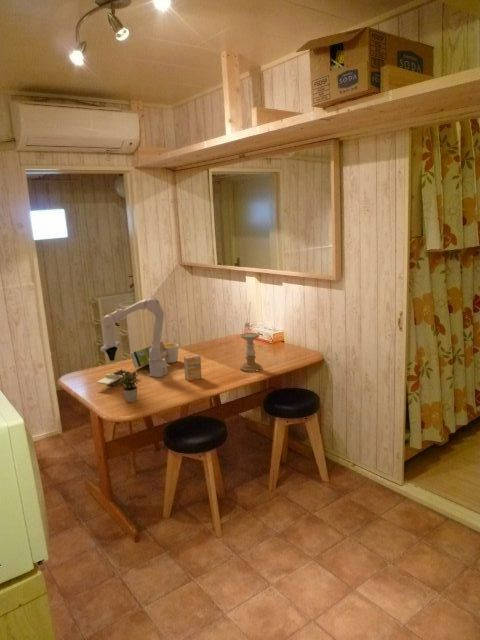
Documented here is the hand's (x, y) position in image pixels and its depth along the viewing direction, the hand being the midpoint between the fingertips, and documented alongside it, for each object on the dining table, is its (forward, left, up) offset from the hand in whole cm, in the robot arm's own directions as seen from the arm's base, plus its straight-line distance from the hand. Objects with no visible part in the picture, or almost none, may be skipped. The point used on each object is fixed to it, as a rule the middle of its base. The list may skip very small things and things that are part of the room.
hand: (112, 360), depth 265 cm
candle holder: (-66, -41, -11) cm, 78 cm away
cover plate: (-7, +11, -7) cm, 15 cm away
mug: (-13, -37, -11) cm, 40 cm away
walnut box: (-7, +2, -11) cm, 13 cm away
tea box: (-1, -24, -6) cm, 25 cm away
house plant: (-28, +23, -11) cm, 38 cm away
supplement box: (-43, -15, -11) cm, 47 cm away
